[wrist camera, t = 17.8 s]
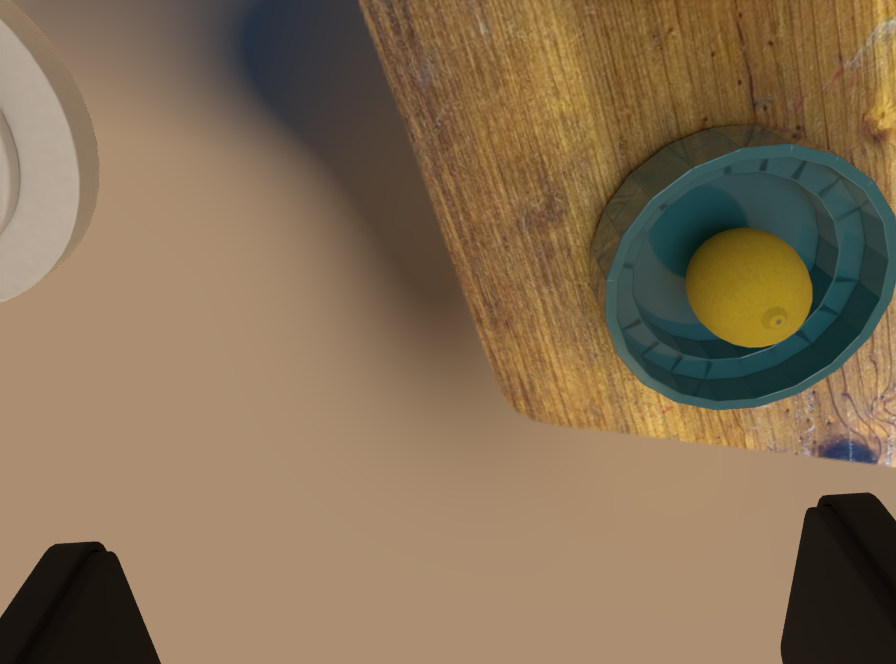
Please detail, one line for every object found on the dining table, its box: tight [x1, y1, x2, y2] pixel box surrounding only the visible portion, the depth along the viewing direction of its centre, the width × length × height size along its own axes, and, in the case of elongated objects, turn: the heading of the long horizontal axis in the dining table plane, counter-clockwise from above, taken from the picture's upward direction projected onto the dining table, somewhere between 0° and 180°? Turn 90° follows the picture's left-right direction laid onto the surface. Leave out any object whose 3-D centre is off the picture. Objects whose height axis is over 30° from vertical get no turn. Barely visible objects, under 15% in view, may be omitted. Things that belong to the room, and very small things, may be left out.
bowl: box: [591, 124, 896, 410], centre depth 38 cm, size 14×14×5 cm
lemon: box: [685, 227, 812, 348], centre depth 36 cm, size 6×6×8 cm
